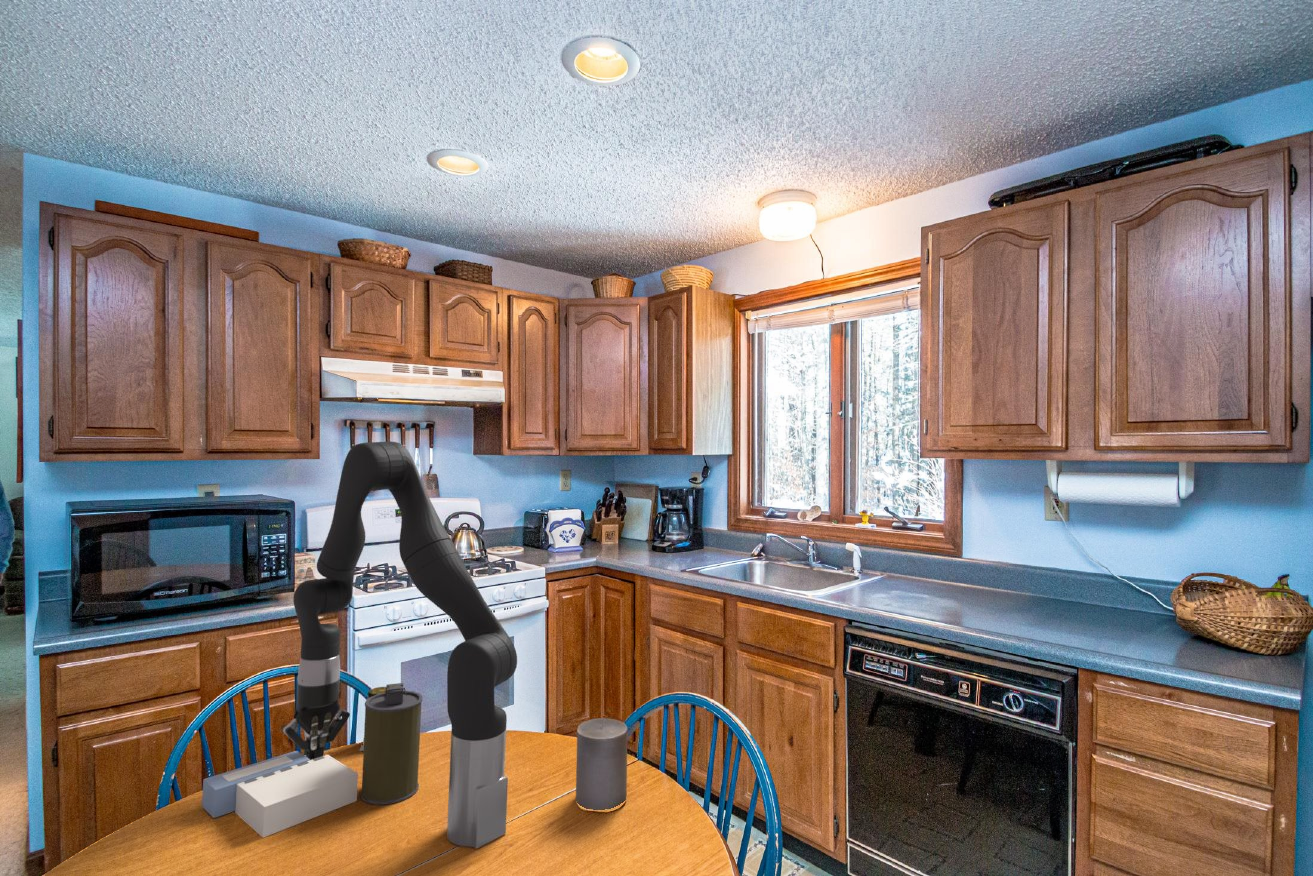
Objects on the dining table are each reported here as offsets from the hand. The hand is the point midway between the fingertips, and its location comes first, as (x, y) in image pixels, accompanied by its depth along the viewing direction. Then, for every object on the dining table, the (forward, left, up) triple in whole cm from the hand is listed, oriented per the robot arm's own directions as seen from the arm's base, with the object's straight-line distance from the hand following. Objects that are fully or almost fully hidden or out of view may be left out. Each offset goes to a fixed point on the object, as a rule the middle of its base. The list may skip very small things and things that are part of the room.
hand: (314, 766), depth 129 cm
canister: (-16, -7, -2) cm, 18 cm away
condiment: (+6, -17, -2) cm, 18 cm away
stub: (0, +10, -2) cm, 10 cm away
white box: (-9, +7, -2) cm, 12 cm away
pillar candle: (-49, -31, -2) cm, 58 cm away
